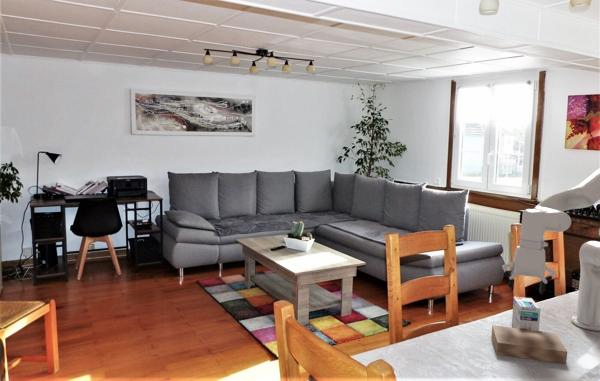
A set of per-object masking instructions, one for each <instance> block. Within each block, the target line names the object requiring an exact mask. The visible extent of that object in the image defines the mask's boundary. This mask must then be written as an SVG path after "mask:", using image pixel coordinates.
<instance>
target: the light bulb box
mask: <svg viewBox="0 0 600 381" xmlns="http://www.w3.org/2000/svg"><path fill="white" fill-rule="evenodd" d="M511 317H512V320H511V325H512V328H519V329H527V330H535V331H540V330H539V329H540V320H541V307H540V306H539V305H538V303H536V302H535V300H534V299H533V298H532V297H520V296H513V303H512V316H511Z"/></svg>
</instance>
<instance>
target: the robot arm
mask: <svg viewBox="0 0 600 381" xmlns="http://www.w3.org/2000/svg"><path fill="white" fill-rule="evenodd" d="M598 201H600V168H598V169H595V171H594V172H592V173H591V174H590V175H589V176H586V178H585V179H583V180H582V181H580V182H579V183H578V184H577V185H575V186H574V187H572V188H569V189H565V190H564V191H561V192H559V193H556V194H552V195H551V196H548V197H547V198H545V199H543V200H542V201H541V202H540V203H538V204H537V205H535V206H534V208H526V209H524V210H523V211H522V217H521V218H522V219H521V228H520V235H519V236H520V237H519V244H518V245H517V246H515V247H516V248H515V251H514V255H513V258H512V259H513V260H512V261H511V262H507V263H505V264H502V265H501V267H502V270H503V272H504V274H505V275H506V276H507V277H508V288H509V289H510V291H512V292H513V291H514V287H515V278H516V277H517V276H520V277H521V276H523V277H529V278H539V279H540V280H541V281H539V289H538V292H539V294H540V295H544V292H546V286H547V284H548V282H550V281H552V280H553V278H554V277H555V275H556V274H557V272H556V271H555V270H554V269H552V268H551V267H549V266H548V265H547V264H546V250H545V247H546V248H547V247H548V246H549V242H546V241H545V232H546V231H548V232H555V233H562V232H565V231H567V230H568V229H569V228H570V227H571V226H572V218H571V217H570V215H569V214H568V213H566V212H564V211H569V210H575V209H584V208H589V207H593V205H595V204H596V203H597V202H598ZM598 236H599V237H600V228H598ZM578 256H579V263H580V275H579V276H580V277H579V283H578V284H579V286H578V295H577V305H576V306H577V307H576V315H572V317H571V318H570V321H571V323H572V324H573V325H575V326H577V327H580V328H582V329H585V330H589V331H593V332H594V331H596V332H600V241H598V240H590V241H586V242H584V243H583V244H582V245H581V246H580V249H579V253H578ZM509 268H511V272H509V270H508V269H509ZM546 272H549V274H548V275H546V276H545V274H546Z"/></svg>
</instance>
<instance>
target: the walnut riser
mask: <svg viewBox="0 0 600 381" xmlns="http://www.w3.org/2000/svg"><path fill="white" fill-rule="evenodd" d="M491 327H492V328H491V339H492V343H493V346H494V350H495V354H496V355H501V356H506V357H515V358H522V359H528V360H536V361H543V362H549V363H557V364H563V365H565V364H566V365H567V358H568V350H567V349H566V347H565V345H564V344H563V342H562V340H561V339H560V337H559V335H558V333H555V332H550V331H549V332H548V331H541V330H539V331H535V330H527V329H519V328H514V327H508V326H502V325H501V326H500V325H492V326H491Z"/></svg>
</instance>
